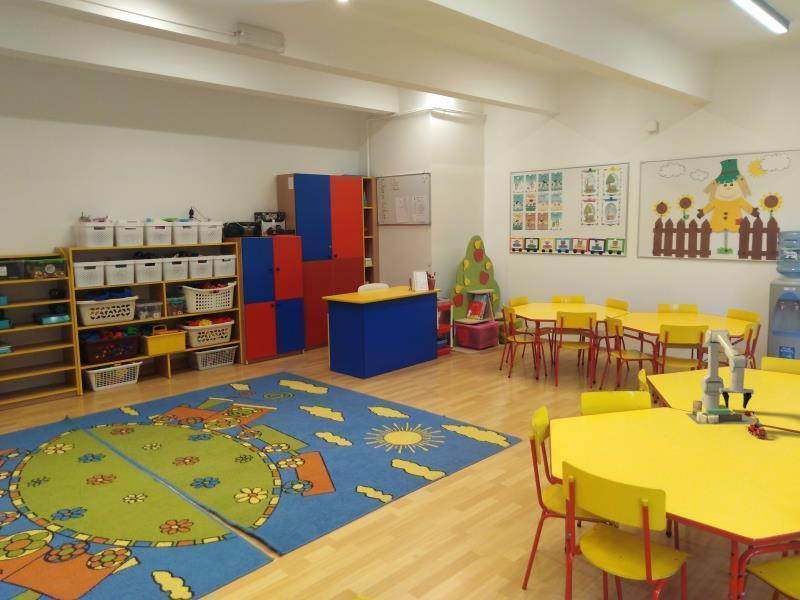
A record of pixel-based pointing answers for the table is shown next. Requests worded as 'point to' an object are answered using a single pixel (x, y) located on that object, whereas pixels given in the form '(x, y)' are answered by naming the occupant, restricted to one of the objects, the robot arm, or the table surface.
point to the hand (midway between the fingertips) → (735, 407)
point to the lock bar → (719, 411)
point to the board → (744, 420)
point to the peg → (697, 407)
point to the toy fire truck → (755, 430)
